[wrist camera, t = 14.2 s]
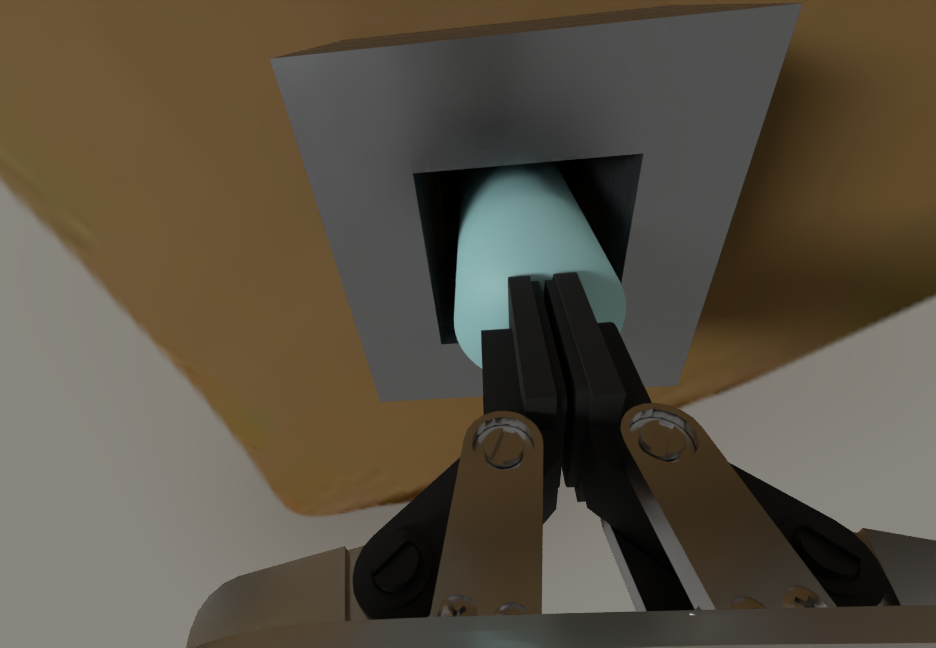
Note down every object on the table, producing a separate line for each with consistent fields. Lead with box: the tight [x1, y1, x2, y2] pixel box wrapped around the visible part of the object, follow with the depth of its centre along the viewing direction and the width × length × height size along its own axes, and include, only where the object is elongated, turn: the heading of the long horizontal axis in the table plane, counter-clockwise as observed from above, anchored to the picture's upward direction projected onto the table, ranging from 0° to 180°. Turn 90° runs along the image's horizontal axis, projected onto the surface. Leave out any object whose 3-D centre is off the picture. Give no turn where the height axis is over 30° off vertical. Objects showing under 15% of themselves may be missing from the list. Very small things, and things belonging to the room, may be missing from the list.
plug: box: [454, 161, 626, 368], centre depth 14 cm, size 4×4×10 cm
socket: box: [270, 3, 803, 402], centre depth 16 cm, size 12×12×7 cm
